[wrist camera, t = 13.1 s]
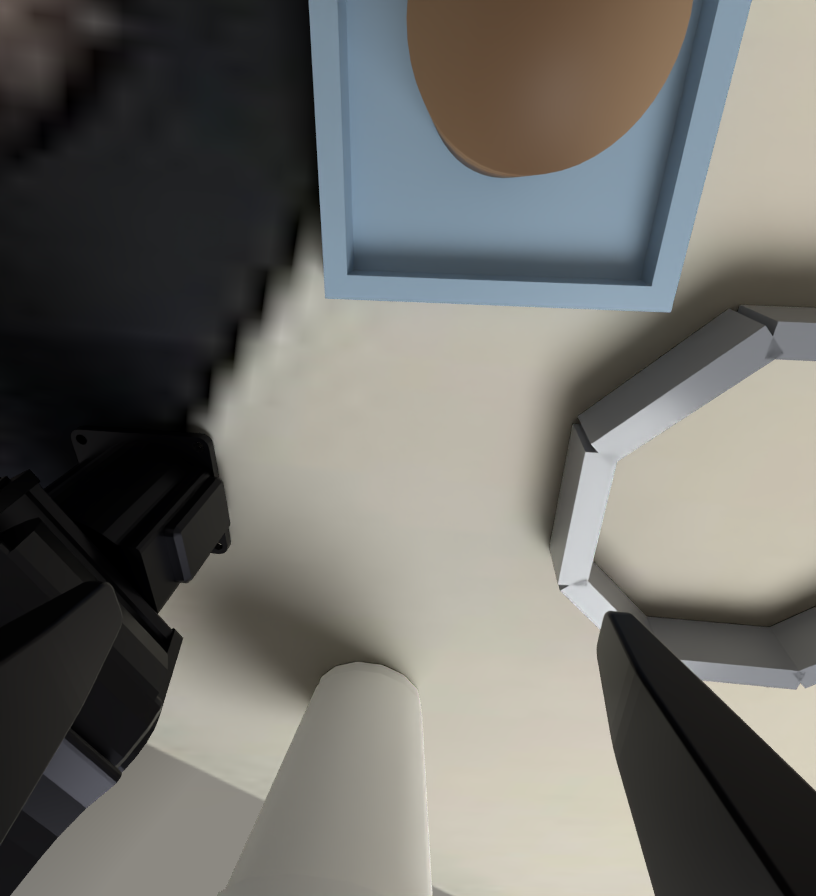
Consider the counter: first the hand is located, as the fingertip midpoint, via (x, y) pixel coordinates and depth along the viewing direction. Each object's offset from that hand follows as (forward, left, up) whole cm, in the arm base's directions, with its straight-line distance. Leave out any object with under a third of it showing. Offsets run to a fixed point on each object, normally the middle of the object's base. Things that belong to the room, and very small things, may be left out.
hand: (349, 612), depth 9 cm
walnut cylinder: (+3, +10, -12) cm, 16 cm away
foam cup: (-2, -20, -13) cm, 24 cm away
